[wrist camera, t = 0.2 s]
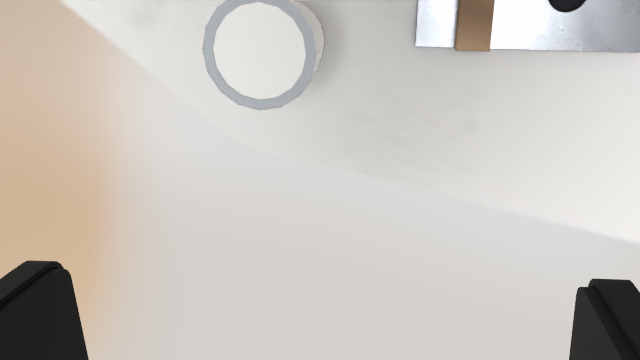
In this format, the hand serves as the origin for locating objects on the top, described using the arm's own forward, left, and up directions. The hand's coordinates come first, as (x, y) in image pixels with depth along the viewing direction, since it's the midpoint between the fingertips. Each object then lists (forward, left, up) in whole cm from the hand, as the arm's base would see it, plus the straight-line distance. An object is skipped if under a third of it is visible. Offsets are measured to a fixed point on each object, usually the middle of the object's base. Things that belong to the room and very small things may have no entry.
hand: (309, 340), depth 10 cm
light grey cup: (-2, -7, -31) cm, 32 cm away
